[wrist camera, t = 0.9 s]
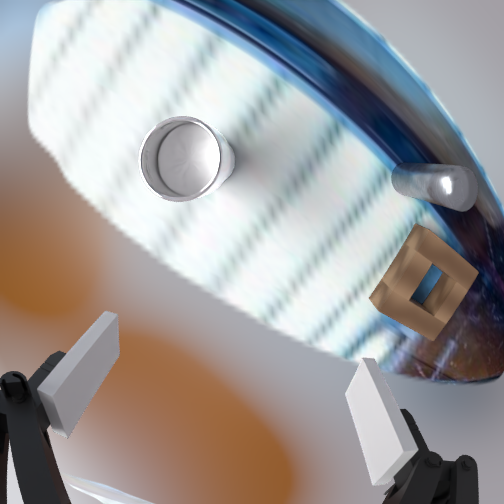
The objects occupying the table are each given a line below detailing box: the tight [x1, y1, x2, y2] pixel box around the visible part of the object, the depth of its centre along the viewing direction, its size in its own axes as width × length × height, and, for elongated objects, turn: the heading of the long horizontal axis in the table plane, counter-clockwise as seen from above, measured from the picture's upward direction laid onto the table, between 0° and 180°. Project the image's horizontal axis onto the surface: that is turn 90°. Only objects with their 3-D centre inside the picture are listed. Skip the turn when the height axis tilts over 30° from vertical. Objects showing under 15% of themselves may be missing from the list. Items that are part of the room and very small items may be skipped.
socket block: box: [369, 224, 479, 341], centre depth 37 cm, size 12×12×4 cm
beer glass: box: [139, 116, 235, 202], centre depth 28 cm, size 7×7×15 cm
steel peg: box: [392, 163, 478, 211], centre depth 29 cm, size 4×4×13 cm
